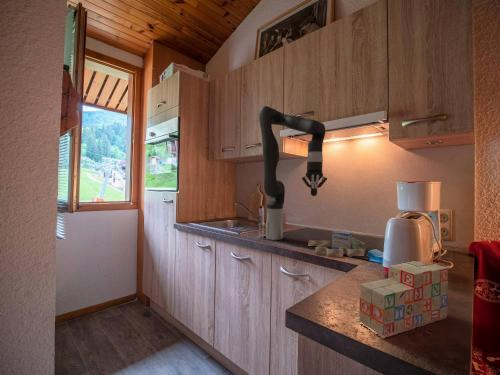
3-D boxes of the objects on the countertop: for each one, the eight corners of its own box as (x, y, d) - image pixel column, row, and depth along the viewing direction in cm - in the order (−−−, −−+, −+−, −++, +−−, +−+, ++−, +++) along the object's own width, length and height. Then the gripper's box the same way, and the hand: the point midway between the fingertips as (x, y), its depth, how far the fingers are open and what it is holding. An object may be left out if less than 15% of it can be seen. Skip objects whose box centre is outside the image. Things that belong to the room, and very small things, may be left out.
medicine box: (332, 250, 116) (332, 232, 116) (334, 248, 120) (334, 230, 120) (349, 252, 112) (349, 233, 112) (351, 250, 116) (351, 232, 115)
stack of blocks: (383, 341, 49) (384, 280, 49) (358, 324, 55) (359, 270, 55) (448, 318, 58) (449, 266, 57) (420, 306, 63) (421, 259, 63)
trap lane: (318, 256, 106) (318, 245, 105) (308, 246, 122) (308, 236, 122) (368, 256, 106) (369, 245, 106) (352, 246, 123) (352, 236, 123)
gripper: (325, 162, 126) (324, 195, 127) (300, 161, 126) (299, 195, 127) (330, 161, 119) (329, 196, 119) (303, 160, 119) (302, 196, 119)
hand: (313, 195), depth 123 cm, fingers closed
